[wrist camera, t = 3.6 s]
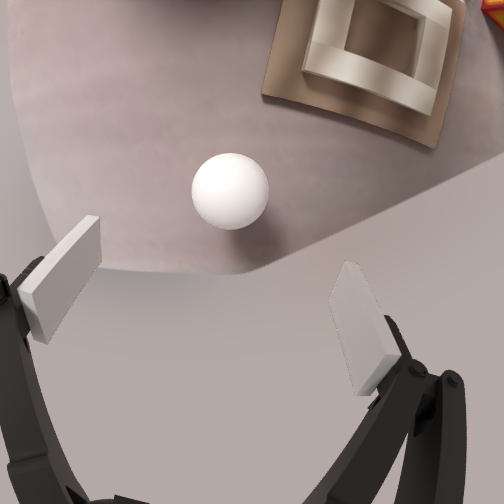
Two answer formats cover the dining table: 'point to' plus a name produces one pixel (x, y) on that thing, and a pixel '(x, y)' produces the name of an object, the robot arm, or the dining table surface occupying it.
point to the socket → (370, 60)
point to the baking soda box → (494, 11)
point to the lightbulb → (230, 191)
